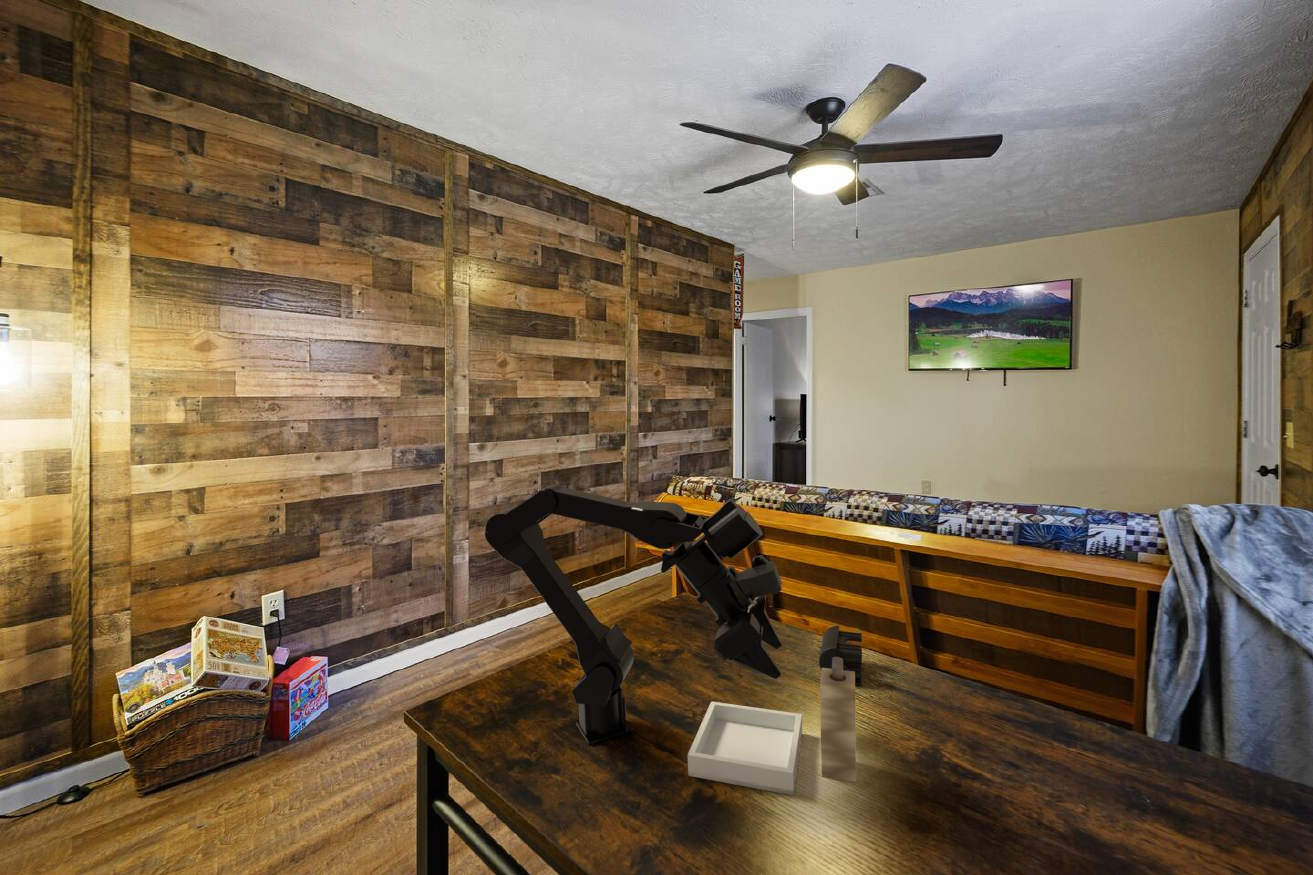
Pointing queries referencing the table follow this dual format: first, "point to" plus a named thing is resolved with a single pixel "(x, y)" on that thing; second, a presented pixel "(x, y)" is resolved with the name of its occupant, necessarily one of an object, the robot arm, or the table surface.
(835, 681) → the wooden square post
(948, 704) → the table surface
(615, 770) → the table surface
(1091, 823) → the table surface
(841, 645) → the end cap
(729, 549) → the robot arm
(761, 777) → the white square tray
